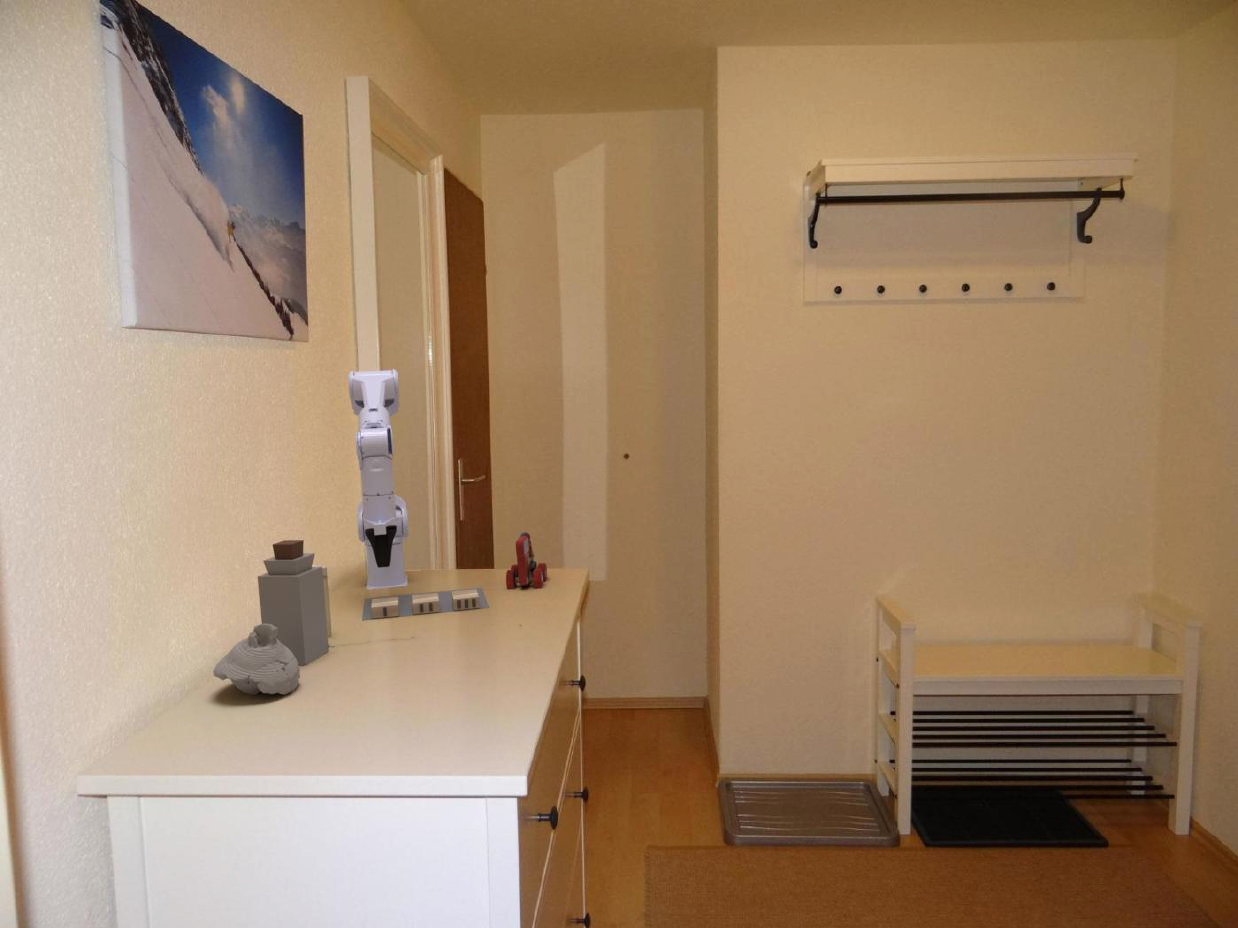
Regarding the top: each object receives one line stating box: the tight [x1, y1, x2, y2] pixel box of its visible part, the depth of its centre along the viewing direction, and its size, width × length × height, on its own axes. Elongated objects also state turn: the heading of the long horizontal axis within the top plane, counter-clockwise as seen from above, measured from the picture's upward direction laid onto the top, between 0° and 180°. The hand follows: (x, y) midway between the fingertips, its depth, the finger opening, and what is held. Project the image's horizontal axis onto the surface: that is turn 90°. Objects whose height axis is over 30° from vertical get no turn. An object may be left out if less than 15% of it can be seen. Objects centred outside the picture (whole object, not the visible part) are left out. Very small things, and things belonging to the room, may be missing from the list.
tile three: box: [451, 589, 480, 610], centre depth 165 cm, size 2×4×6 cm
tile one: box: [371, 597, 399, 619], centre depth 162 cm, size 2×4×6 cm
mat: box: [361, 586, 490, 621], centre depth 169 cm, size 16×22×1 cm
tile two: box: [412, 593, 440, 614], centre depth 164 cm, size 2×4×6 cm
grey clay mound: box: [213, 623, 301, 695], centre depth 127 cm, size 12×12×11 cm
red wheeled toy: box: [505, 531, 548, 590], centre depth 181 cm, size 7×12×10 cm, turn 177°
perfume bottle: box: [257, 539, 330, 666], centre depth 140 cm, size 7×7×18 cm
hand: (383, 566), depth 169 cm, fingers closed
